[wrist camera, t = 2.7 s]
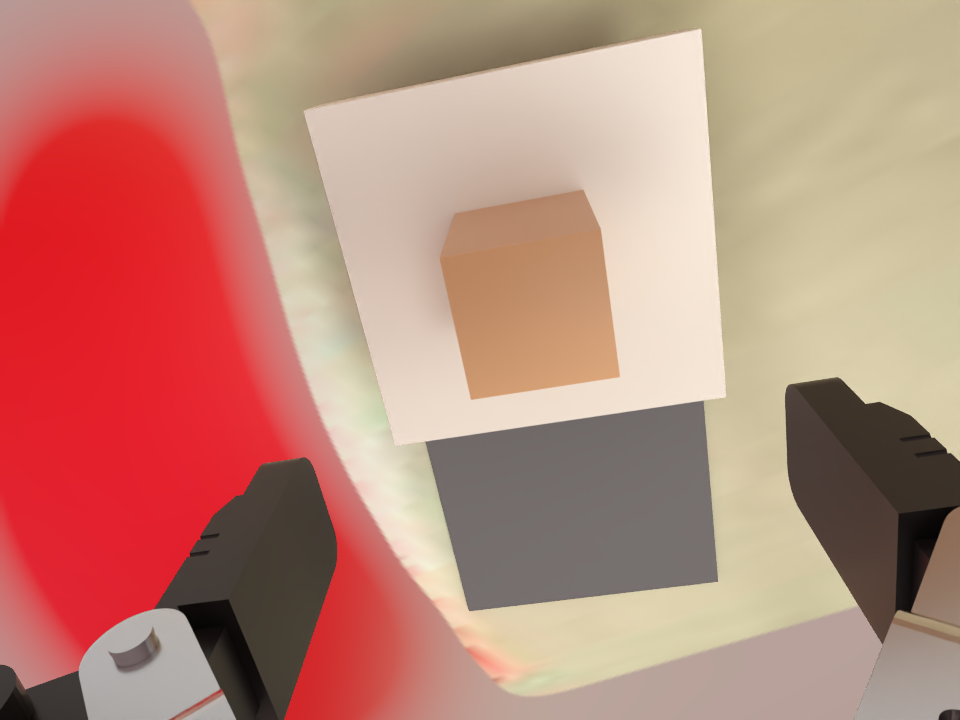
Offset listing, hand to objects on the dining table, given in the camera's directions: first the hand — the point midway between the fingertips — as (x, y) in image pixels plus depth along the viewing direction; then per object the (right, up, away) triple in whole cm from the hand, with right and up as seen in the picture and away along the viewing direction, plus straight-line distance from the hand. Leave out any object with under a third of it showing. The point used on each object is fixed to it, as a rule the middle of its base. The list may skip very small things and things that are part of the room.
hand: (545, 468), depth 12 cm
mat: (+4, -4, +24) cm, 24 cm away
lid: (+1, +6, +13) cm, 15 cm away
